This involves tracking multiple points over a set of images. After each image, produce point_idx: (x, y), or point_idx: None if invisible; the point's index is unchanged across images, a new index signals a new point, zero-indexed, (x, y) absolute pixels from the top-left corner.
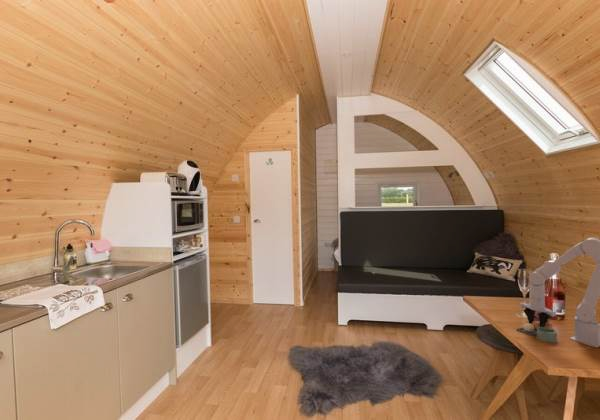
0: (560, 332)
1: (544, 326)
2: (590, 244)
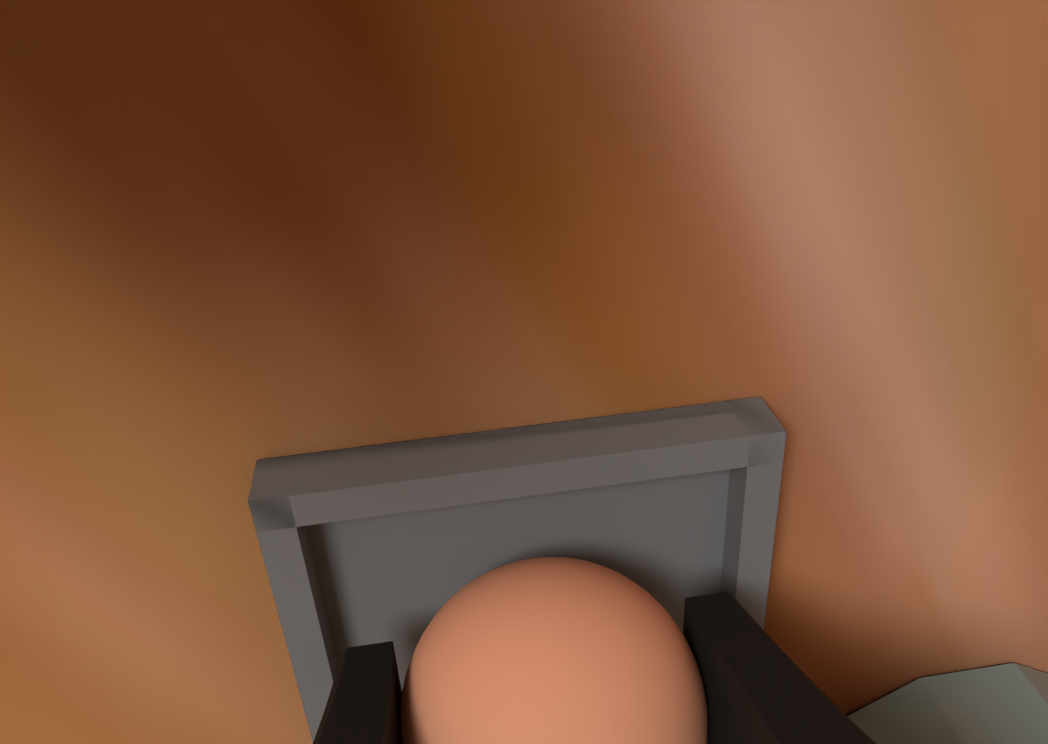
0: (994, 95)
1: (766, 641)
2: None
